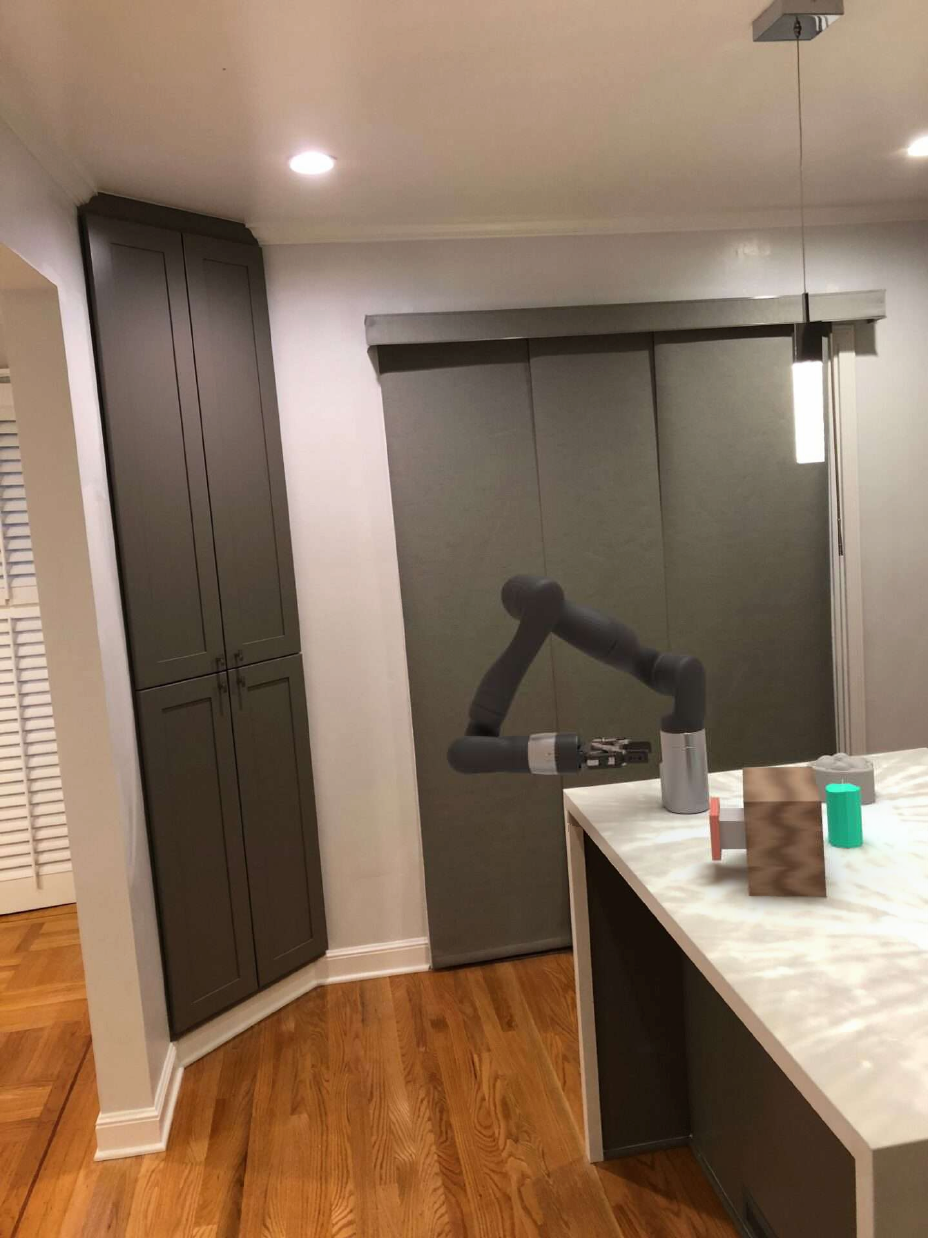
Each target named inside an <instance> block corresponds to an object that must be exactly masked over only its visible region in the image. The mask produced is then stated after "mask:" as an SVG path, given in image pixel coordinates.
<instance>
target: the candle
mask: <svg viewBox="0 0 928 1238" xmlns="http://www.w3.org/2000/svg"><path fill="white" fill-rule="evenodd" d="M862 815H863V814H862V805H861V794H860V787H856V786H854V785H852V784H849V783H847V784H843V779H842V784H830V785H828V786H826V817H827V836H828V837H827V839H828V844H830V845H831V846H833V847H837V848H841V849H852V848H853V849H855V848H859V847H861V846H863V844H864V837H863V835H864V834H863V833H864V832H863V819H862V817H863V816H862Z"/></svg>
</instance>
